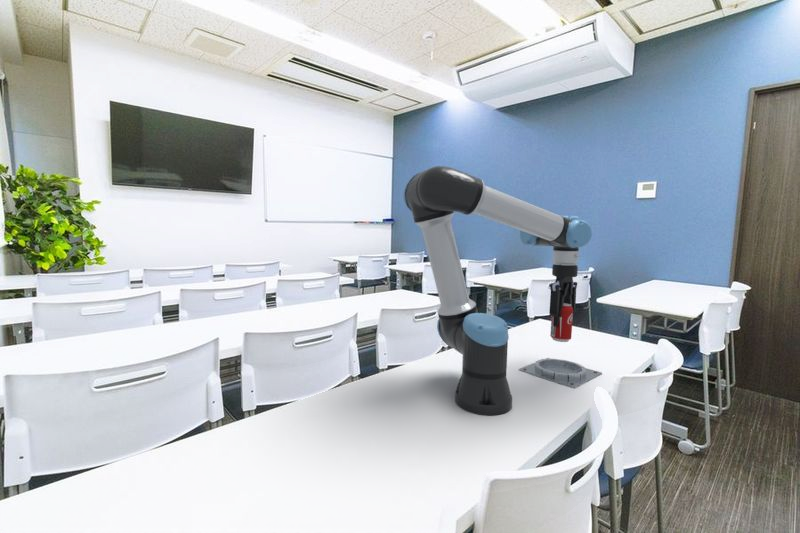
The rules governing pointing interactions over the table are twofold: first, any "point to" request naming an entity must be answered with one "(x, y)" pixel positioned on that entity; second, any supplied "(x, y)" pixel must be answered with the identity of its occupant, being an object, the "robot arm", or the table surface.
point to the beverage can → (563, 325)
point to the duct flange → (561, 372)
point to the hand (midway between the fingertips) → (561, 334)
